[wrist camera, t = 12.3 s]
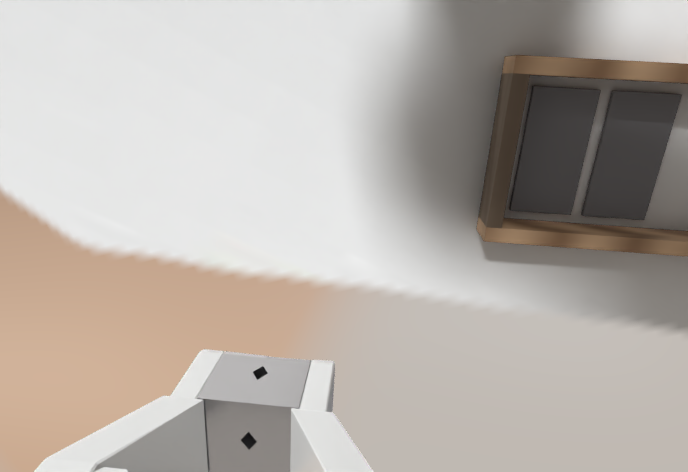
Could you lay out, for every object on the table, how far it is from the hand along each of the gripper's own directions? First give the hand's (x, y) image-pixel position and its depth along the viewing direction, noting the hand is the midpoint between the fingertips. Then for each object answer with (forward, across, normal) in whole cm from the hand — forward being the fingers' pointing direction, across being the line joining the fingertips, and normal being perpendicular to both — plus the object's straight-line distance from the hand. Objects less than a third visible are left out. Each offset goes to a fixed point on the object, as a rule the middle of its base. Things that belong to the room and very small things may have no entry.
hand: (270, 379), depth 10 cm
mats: (+29, -19, -1) cm, 35 cm away
